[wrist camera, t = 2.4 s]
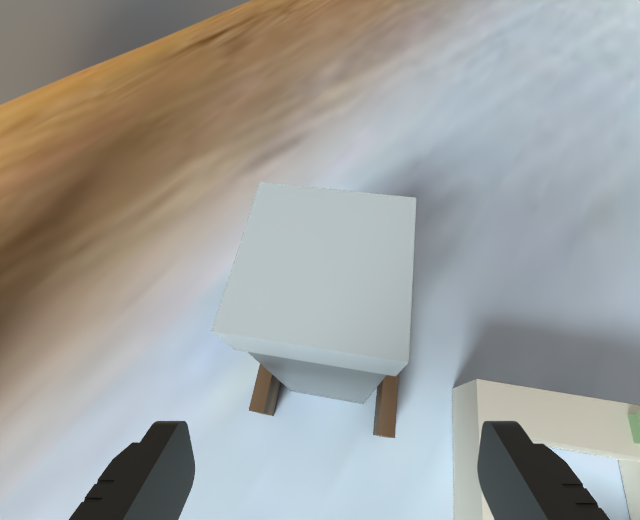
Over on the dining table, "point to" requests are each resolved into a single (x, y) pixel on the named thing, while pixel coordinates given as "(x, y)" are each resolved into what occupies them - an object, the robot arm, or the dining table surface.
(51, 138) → the dining table surface
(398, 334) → the plug
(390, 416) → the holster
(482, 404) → the frame
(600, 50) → the dining table surface
